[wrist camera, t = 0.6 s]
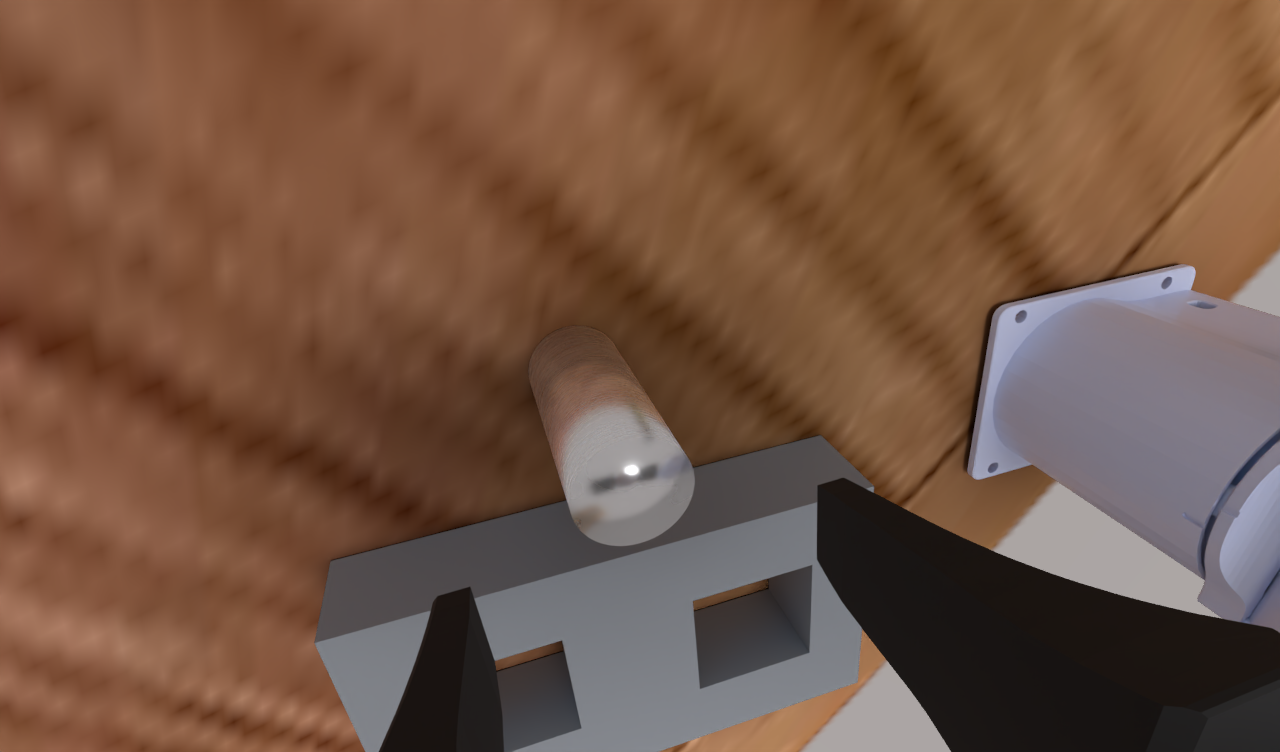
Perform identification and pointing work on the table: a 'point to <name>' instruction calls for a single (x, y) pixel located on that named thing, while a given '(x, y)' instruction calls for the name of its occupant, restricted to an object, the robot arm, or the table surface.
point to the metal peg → (607, 440)
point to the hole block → (615, 613)
